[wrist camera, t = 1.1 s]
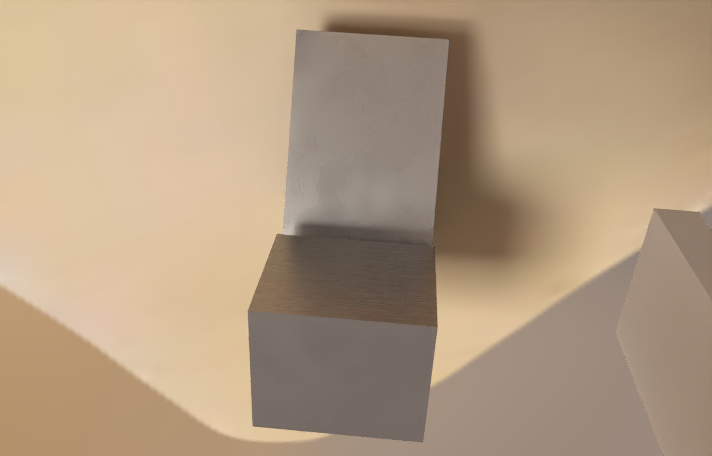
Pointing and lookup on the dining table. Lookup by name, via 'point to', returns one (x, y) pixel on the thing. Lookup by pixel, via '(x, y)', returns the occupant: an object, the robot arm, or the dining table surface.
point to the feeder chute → (354, 242)
